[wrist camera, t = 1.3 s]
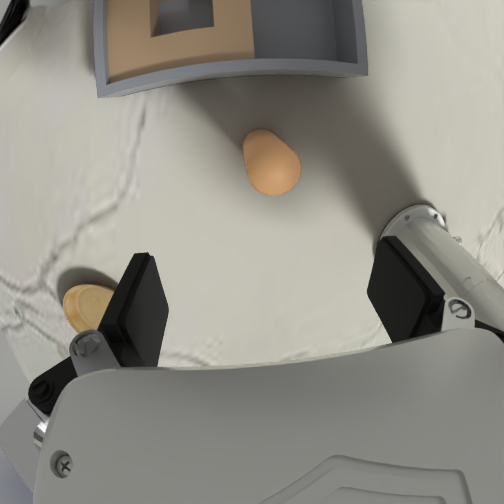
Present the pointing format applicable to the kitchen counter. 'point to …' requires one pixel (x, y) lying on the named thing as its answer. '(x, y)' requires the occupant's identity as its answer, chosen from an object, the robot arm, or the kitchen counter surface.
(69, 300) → the plant saucer
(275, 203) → the kitchen counter surface
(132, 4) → the box
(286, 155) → the peg
